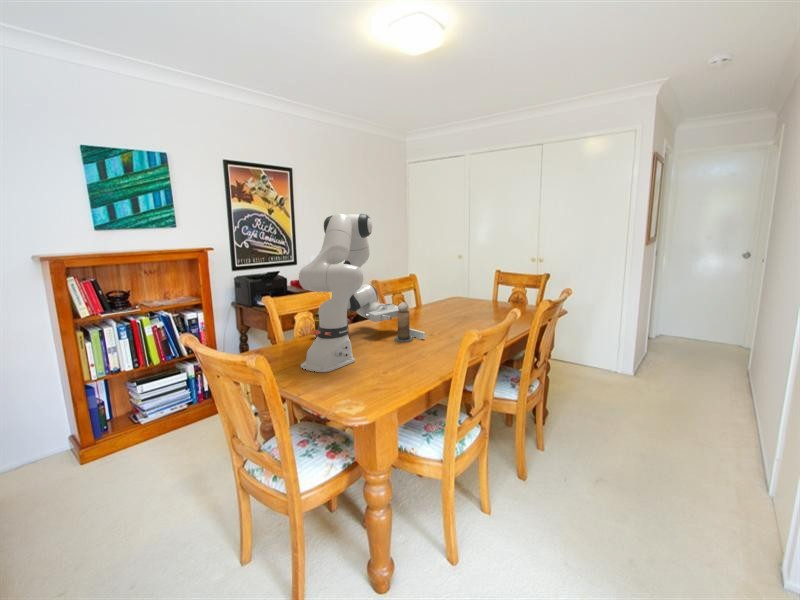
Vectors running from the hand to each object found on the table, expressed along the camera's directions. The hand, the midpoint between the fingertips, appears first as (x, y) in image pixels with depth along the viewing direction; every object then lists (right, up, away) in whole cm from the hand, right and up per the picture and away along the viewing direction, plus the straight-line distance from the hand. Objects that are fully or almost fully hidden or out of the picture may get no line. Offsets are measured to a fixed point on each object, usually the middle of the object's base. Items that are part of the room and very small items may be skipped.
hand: (397, 316), depth 190 cm
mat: (+3, -11, -1) cm, 11 cm away
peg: (+3, -10, -1) cm, 11 cm away
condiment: (-37, -11, +6) cm, 39 cm away
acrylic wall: (+8, -10, +3) cm, 13 cm away
